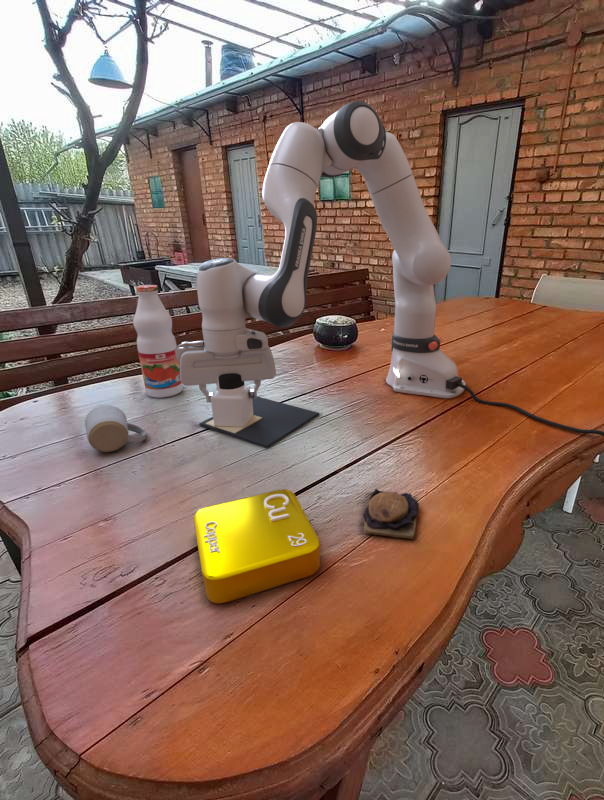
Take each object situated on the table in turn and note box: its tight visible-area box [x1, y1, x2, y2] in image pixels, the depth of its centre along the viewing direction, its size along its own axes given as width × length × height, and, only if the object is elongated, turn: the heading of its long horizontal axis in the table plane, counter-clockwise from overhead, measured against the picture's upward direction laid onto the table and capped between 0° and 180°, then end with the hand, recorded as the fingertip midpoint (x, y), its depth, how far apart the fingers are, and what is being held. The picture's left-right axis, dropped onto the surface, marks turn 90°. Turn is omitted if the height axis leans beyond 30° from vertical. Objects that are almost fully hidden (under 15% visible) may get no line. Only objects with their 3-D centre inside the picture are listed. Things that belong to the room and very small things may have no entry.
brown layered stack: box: [362, 488, 419, 540], centre depth 67 cm, size 11×8×4 cm
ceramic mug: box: [84, 404, 147, 453], centre depth 87 cm, size 11×8×8 cm
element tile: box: [193, 488, 321, 604], centre depth 59 cm, size 15×15×5 cm
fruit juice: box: [132, 284, 184, 399], centre depth 110 cm, size 9×9×28 cm
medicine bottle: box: [210, 373, 253, 427], centre depth 95 cm, size 7×7×12 cm
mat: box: [198, 396, 320, 449], centre depth 99 cm, size 20×19×1 cm
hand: (232, 399), depth 95 cm, fingers closed on medicine bottle, 8 cm apart
